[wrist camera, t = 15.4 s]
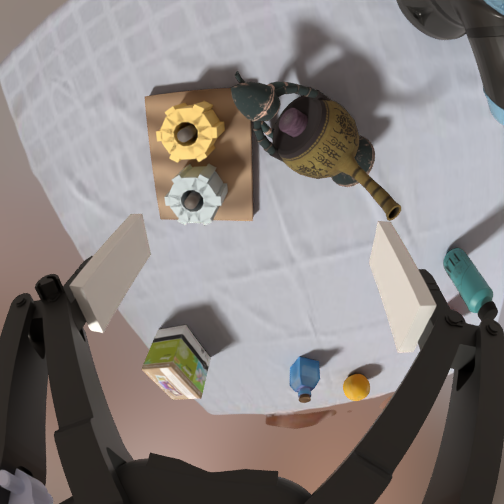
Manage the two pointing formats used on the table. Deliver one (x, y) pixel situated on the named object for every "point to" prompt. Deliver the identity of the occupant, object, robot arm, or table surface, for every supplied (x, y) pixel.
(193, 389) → the tea box
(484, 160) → the table surface
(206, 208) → the pale grey gear
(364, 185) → the teapot
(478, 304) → the beverage bottle
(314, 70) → the table surface
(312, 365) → the perfume bottle
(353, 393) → the fruit
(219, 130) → the ochre gear
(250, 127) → the gear board
